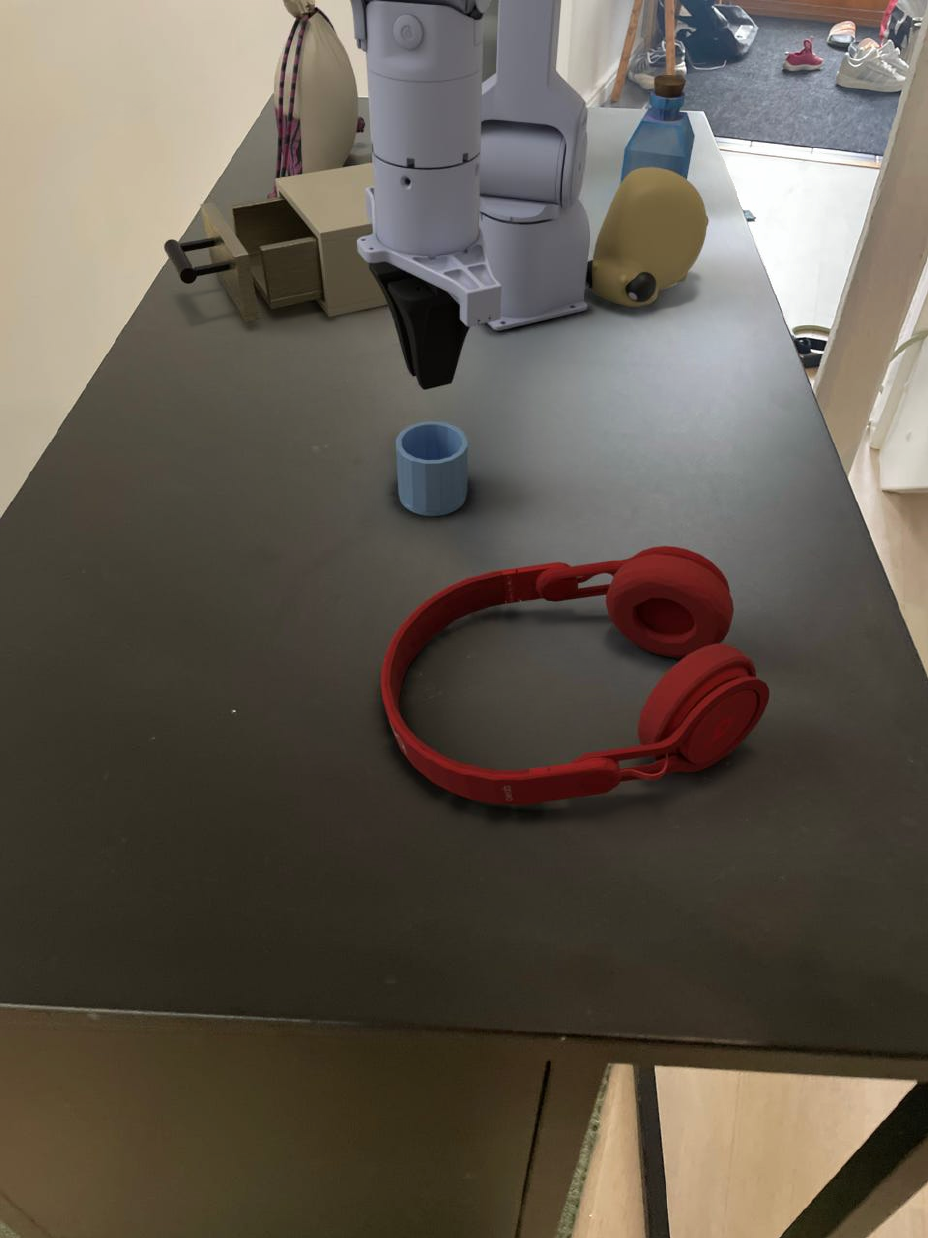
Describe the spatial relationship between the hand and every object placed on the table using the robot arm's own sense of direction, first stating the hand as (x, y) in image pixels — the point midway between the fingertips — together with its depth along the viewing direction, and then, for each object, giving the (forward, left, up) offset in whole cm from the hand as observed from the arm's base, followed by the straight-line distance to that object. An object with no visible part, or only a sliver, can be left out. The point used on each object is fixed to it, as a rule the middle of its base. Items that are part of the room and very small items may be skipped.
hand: (430, 377), depth 57 cm
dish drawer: (+1, -33, -9) cm, 34 cm away
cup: (0, 0, -9) cm, 9 cm away
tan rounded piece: (-30, -20, -10) cm, 37 cm away
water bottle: (-30, -51, -10) cm, 60 cm away
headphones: (+1, +20, -10) cm, 22 cm away
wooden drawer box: (-9, -33, -9) cm, 35 cm away
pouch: (-11, -55, -10) cm, 57 cm away
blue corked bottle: (-42, -36, -10) cm, 56 cm away
